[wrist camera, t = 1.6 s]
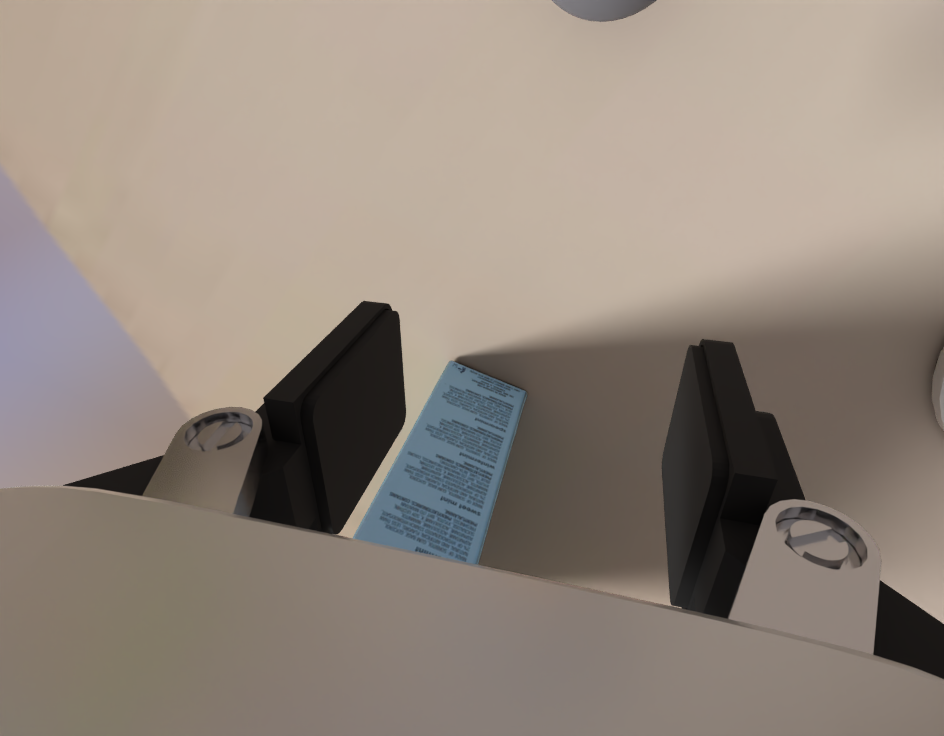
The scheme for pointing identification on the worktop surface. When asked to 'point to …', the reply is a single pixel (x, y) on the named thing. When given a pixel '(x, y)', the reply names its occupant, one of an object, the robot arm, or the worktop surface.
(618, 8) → the grey sphere
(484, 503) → the gum box
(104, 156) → the worktop surface
